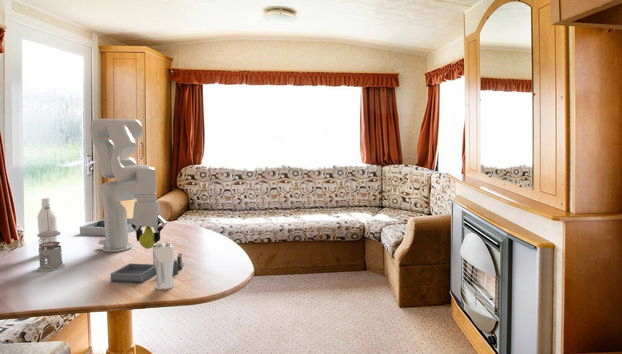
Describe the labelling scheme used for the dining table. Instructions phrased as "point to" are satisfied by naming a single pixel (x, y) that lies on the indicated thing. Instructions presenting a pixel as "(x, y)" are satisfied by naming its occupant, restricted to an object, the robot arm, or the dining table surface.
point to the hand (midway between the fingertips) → (148, 240)
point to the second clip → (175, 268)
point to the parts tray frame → (100, 228)
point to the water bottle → (44, 223)
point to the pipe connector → (101, 224)
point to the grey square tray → (133, 273)
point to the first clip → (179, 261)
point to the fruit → (147, 238)
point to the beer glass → (163, 265)
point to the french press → (50, 251)
